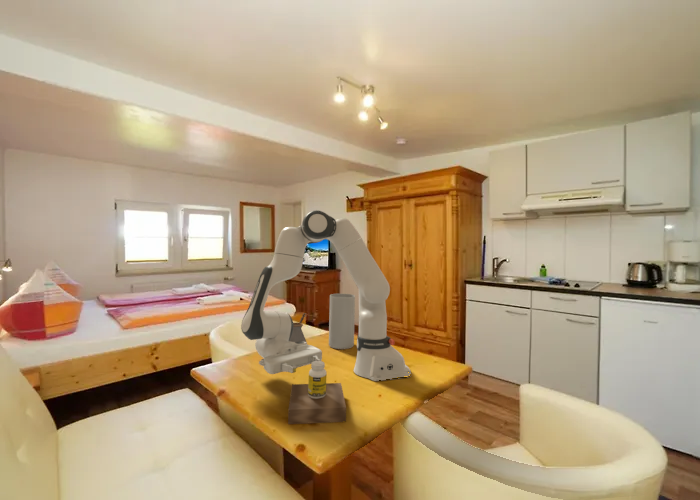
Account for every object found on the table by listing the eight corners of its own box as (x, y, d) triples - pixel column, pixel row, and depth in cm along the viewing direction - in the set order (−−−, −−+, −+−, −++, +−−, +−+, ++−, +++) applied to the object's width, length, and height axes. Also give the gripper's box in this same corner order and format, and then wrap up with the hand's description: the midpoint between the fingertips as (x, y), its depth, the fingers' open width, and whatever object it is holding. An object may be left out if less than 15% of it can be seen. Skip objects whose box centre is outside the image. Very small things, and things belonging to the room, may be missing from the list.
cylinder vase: (357, 343, 161) (358, 294, 161) (348, 351, 149) (349, 298, 149) (334, 340, 165) (335, 292, 165) (324, 347, 154) (325, 296, 153)
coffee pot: (303, 356, 140) (304, 323, 140) (278, 354, 142) (279, 321, 142) (315, 342, 162) (316, 313, 161) (293, 341, 163) (294, 312, 163)
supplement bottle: (310, 400, 93) (311, 367, 93) (306, 392, 98) (306, 361, 97) (328, 397, 95) (329, 365, 95) (322, 389, 100) (323, 358, 100)
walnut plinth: (340, 395, 105) (341, 383, 105) (345, 421, 89) (346, 407, 89) (291, 396, 103) (292, 384, 103) (288, 424, 87) (288, 409, 87)
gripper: (256, 351, 103) (277, 364, 93) (308, 340, 117) (331, 350, 107) (256, 371, 104) (277, 385, 93) (308, 357, 117) (331, 368, 107)
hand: (306, 366), depth 100 cm, fingers open, 8 cm apart
